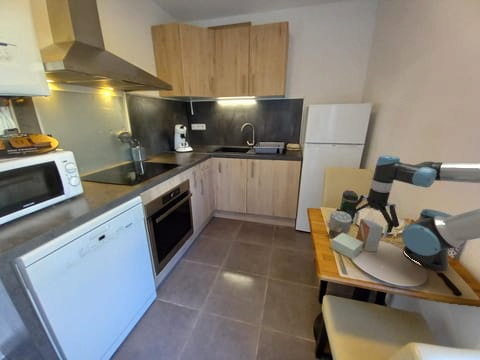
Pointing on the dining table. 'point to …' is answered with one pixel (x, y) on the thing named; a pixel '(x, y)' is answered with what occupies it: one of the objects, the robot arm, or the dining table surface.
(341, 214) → the lumpy-topped squat cylinder
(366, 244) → the small box
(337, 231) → the walnut cube
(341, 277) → the dining table surface
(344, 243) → the pedestal
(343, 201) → the coffee jar
